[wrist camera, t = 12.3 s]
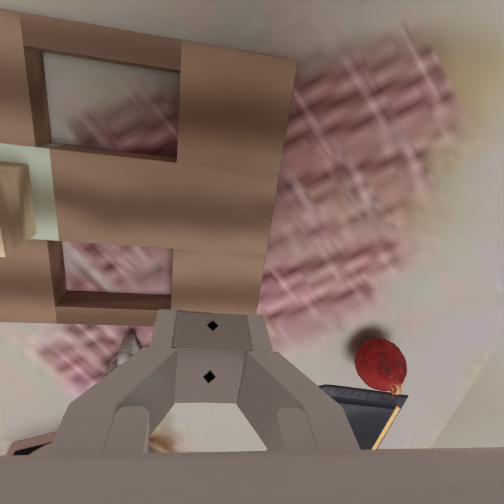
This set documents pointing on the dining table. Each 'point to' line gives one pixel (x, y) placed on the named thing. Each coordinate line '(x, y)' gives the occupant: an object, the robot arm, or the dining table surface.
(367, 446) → the wallet
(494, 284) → the dining table surface
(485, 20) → the dining table surface
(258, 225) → the board
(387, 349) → the onion
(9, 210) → the birch block
